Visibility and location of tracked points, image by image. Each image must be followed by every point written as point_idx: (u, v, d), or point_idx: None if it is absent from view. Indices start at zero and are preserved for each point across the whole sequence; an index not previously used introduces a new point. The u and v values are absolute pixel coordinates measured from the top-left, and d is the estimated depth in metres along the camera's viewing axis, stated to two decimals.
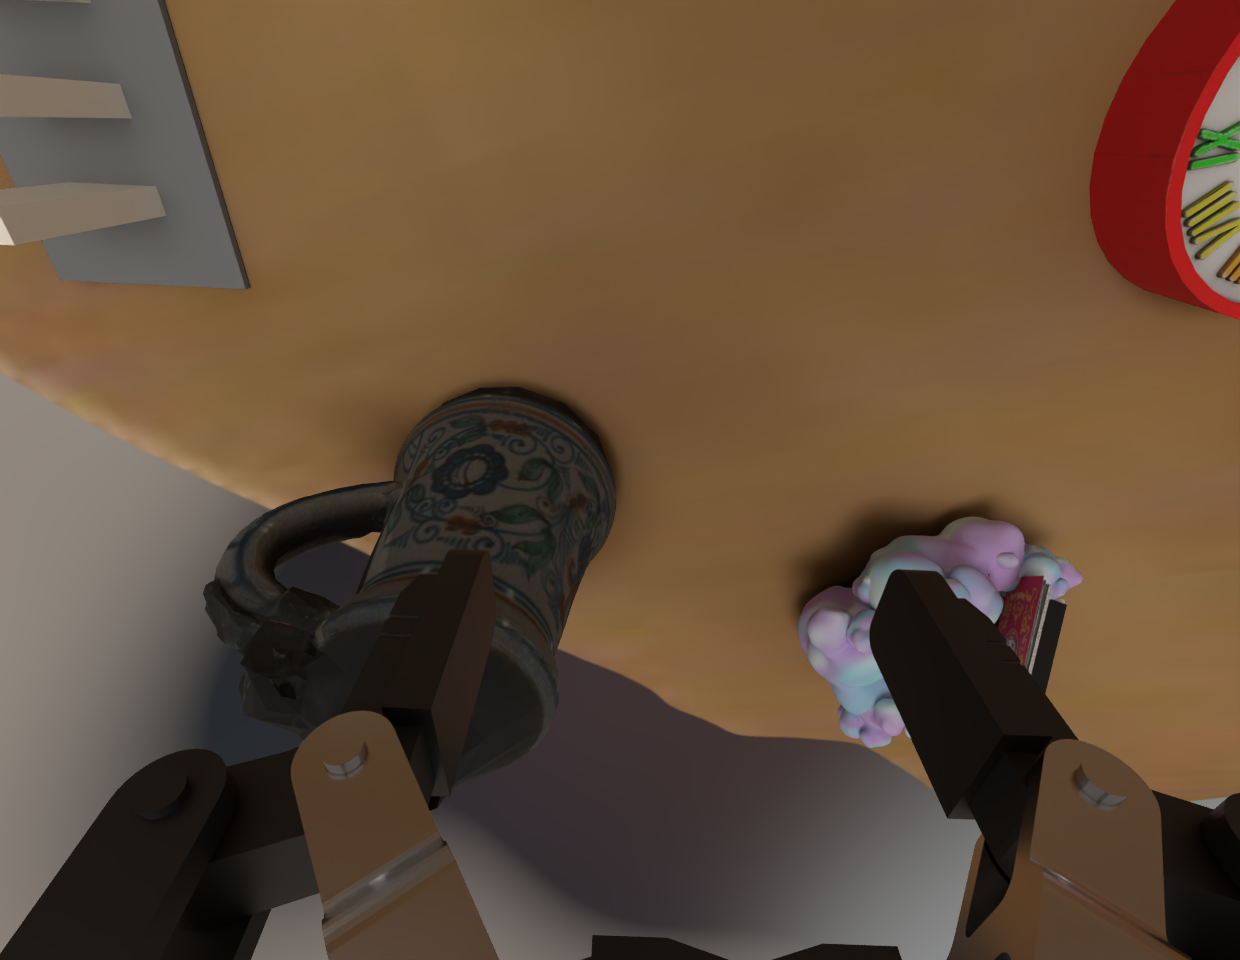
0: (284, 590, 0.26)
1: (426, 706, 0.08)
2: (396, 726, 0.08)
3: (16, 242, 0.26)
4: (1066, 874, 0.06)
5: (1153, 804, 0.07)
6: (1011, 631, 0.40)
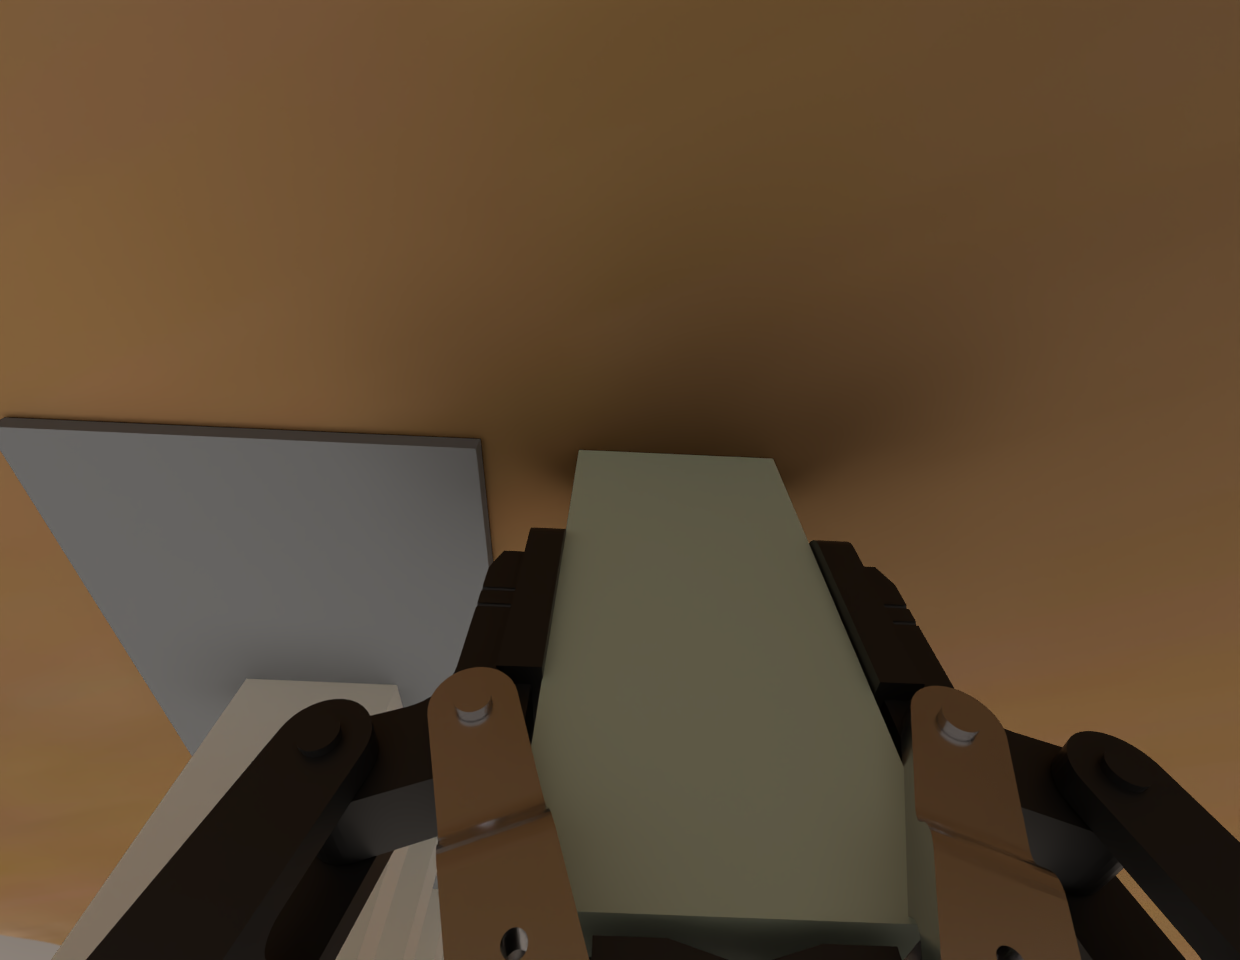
0: None
1: (536, 665, 0.08)
2: None
3: None
4: (947, 821, 0.07)
5: (1003, 740, 0.08)
6: None
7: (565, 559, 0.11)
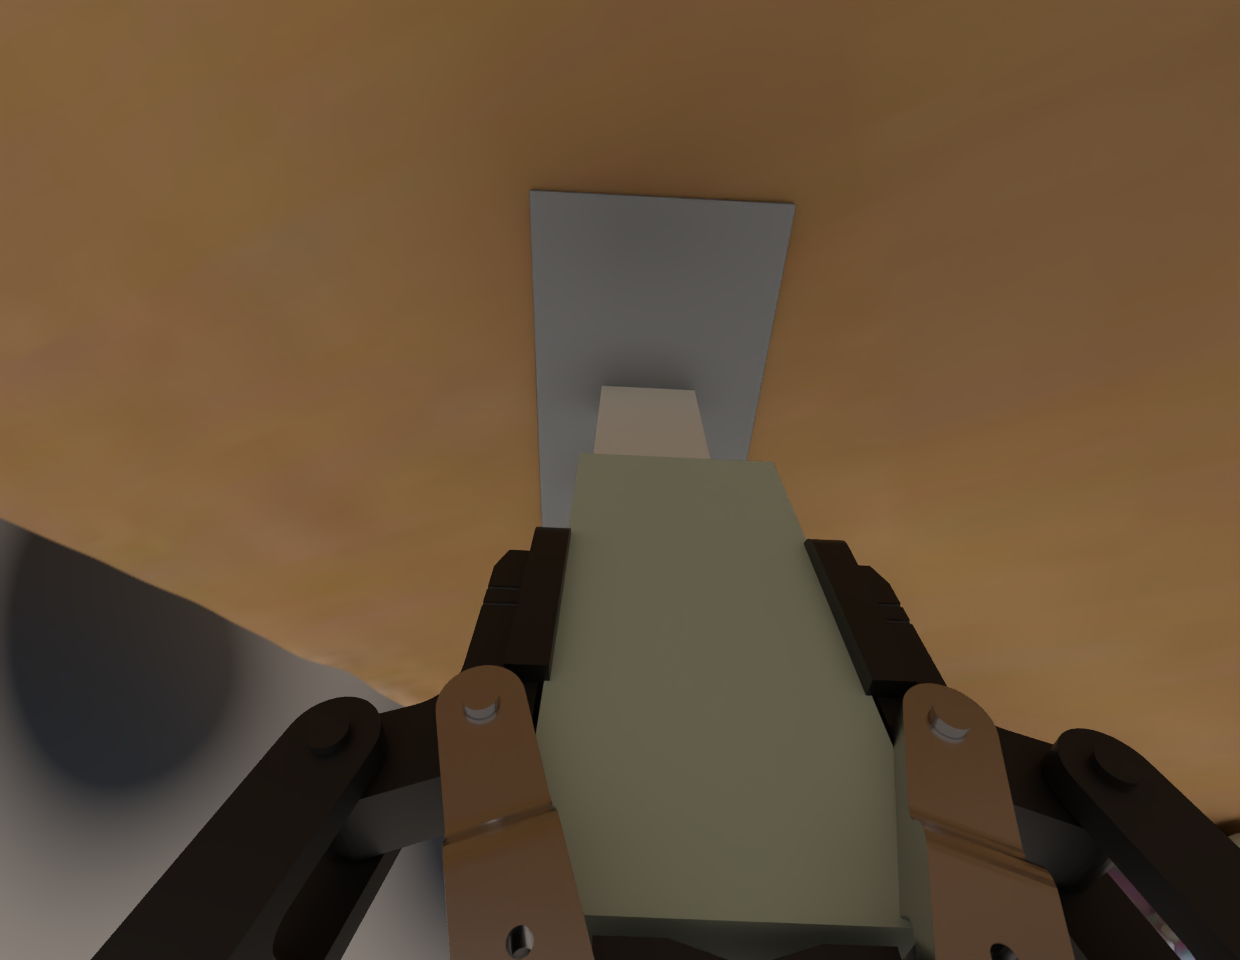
0: None
1: (543, 663, 0.08)
2: None
3: None
4: (940, 819, 0.07)
5: (994, 737, 0.08)
6: None
7: (567, 562, 0.11)
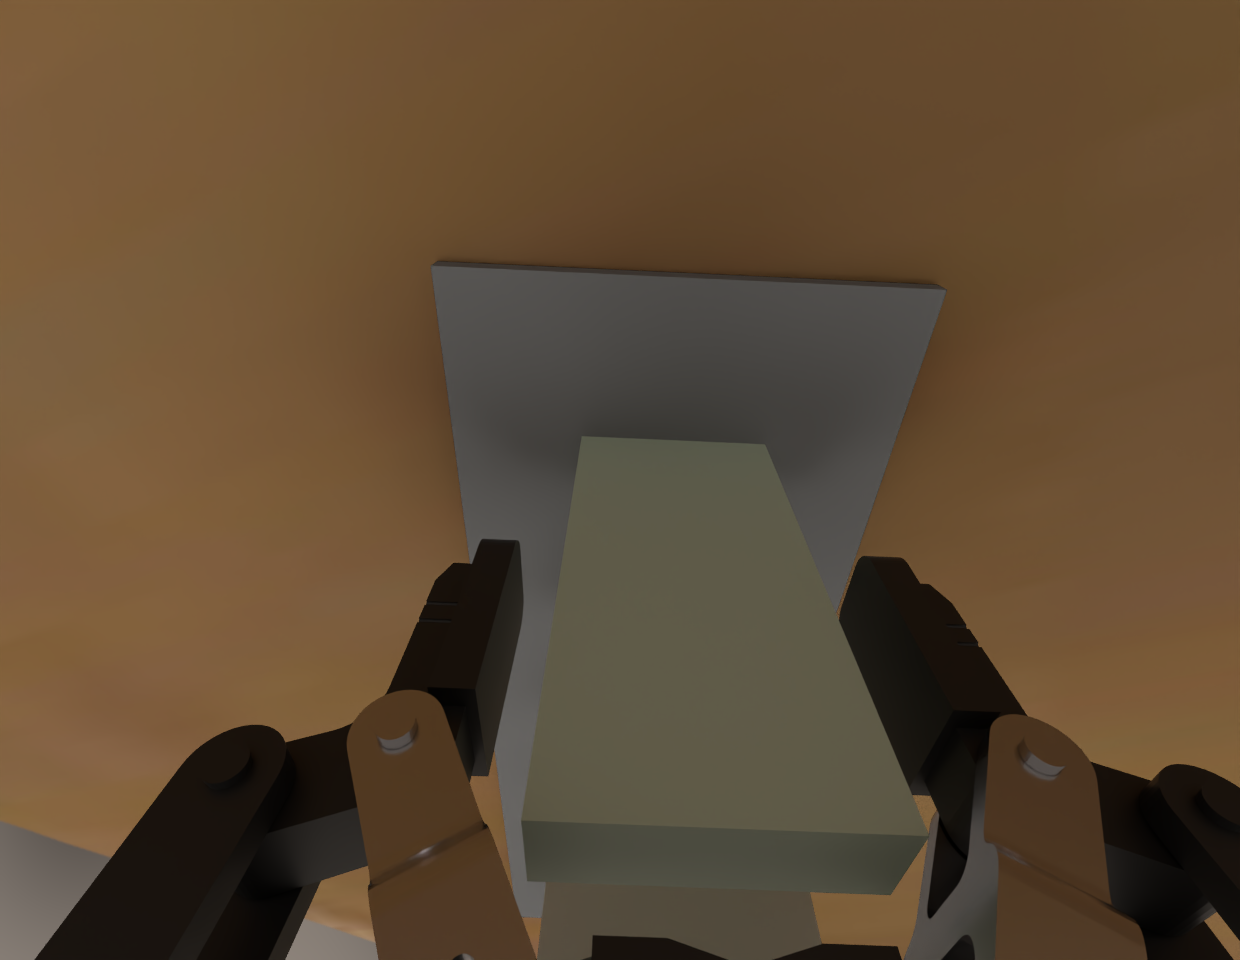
0: None
1: (470, 686, 0.08)
2: (441, 706, 0.08)
3: None
4: (1017, 849, 0.06)
5: (1091, 774, 0.07)
6: None
7: (570, 533, 0.12)
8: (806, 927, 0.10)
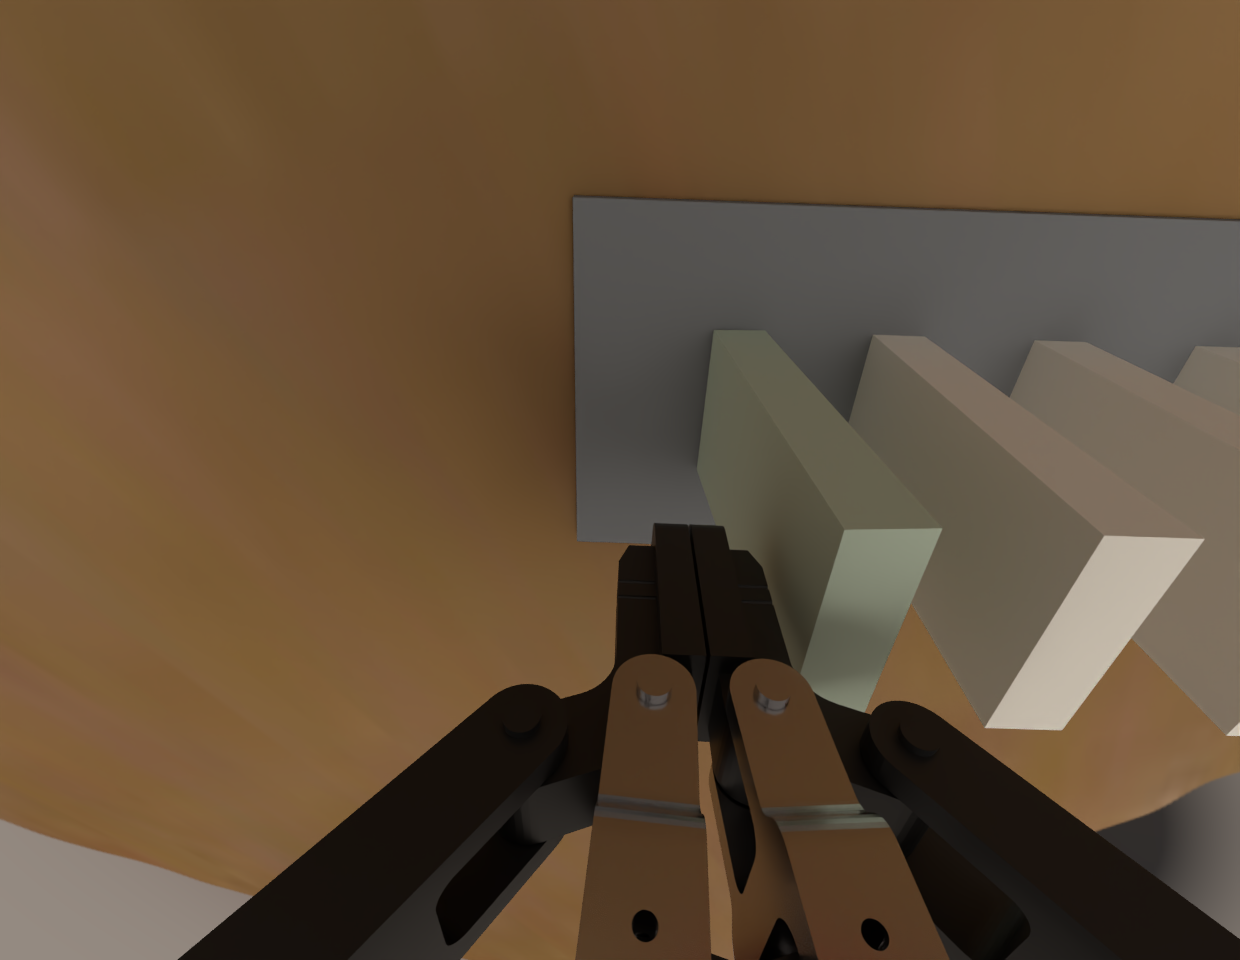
0: None
1: (699, 654, 0.09)
2: None
3: None
4: (787, 801, 0.07)
5: (812, 709, 0.08)
6: None
7: None
8: (1066, 516, 0.10)
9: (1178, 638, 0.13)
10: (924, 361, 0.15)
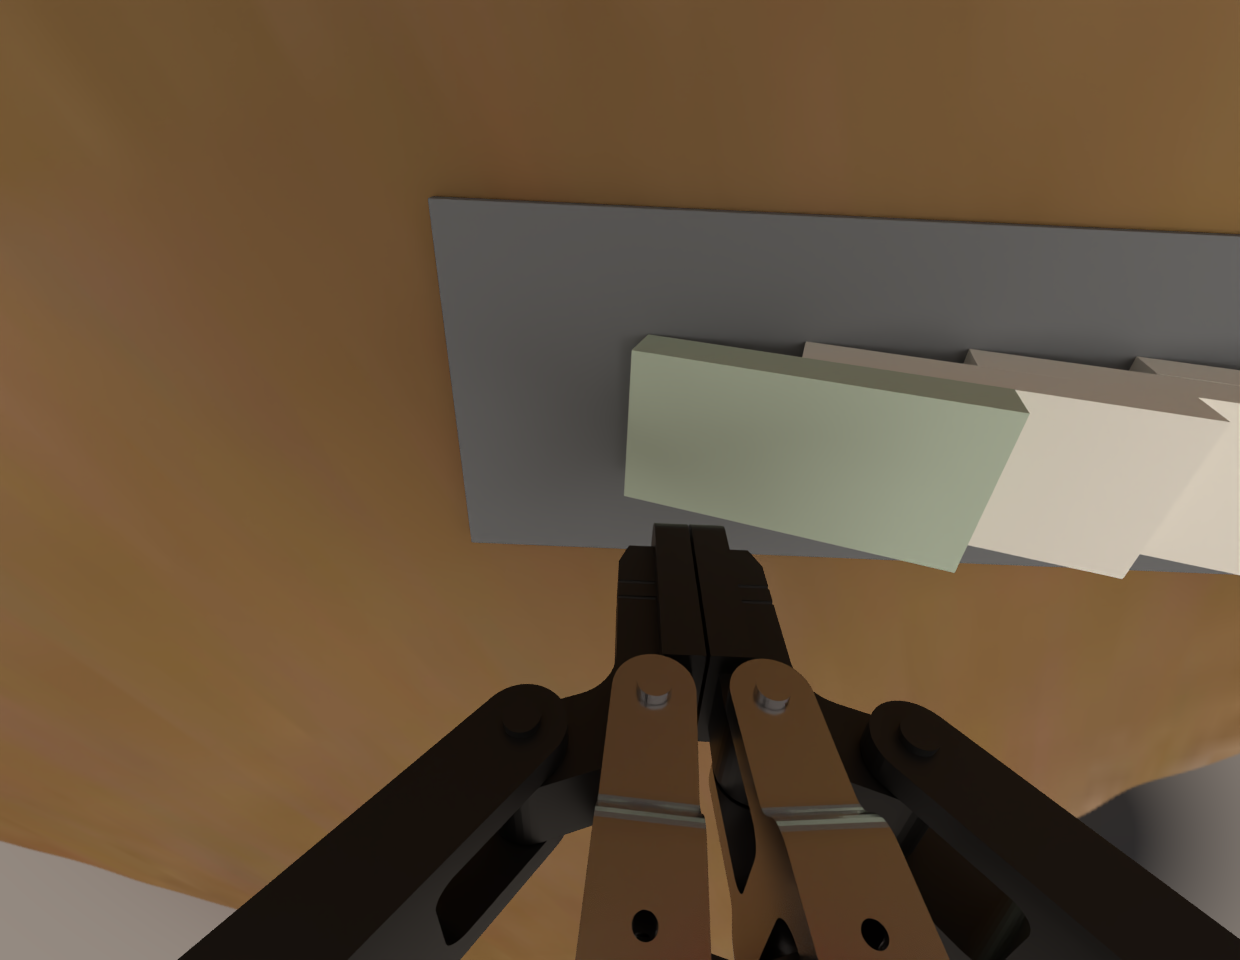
0: None
1: (699, 654, 0.09)
2: None
3: None
4: (787, 801, 0.07)
5: (812, 709, 0.08)
6: None
7: (754, 524, 0.17)
8: (1185, 423, 0.14)
9: None
10: (886, 363, 0.16)
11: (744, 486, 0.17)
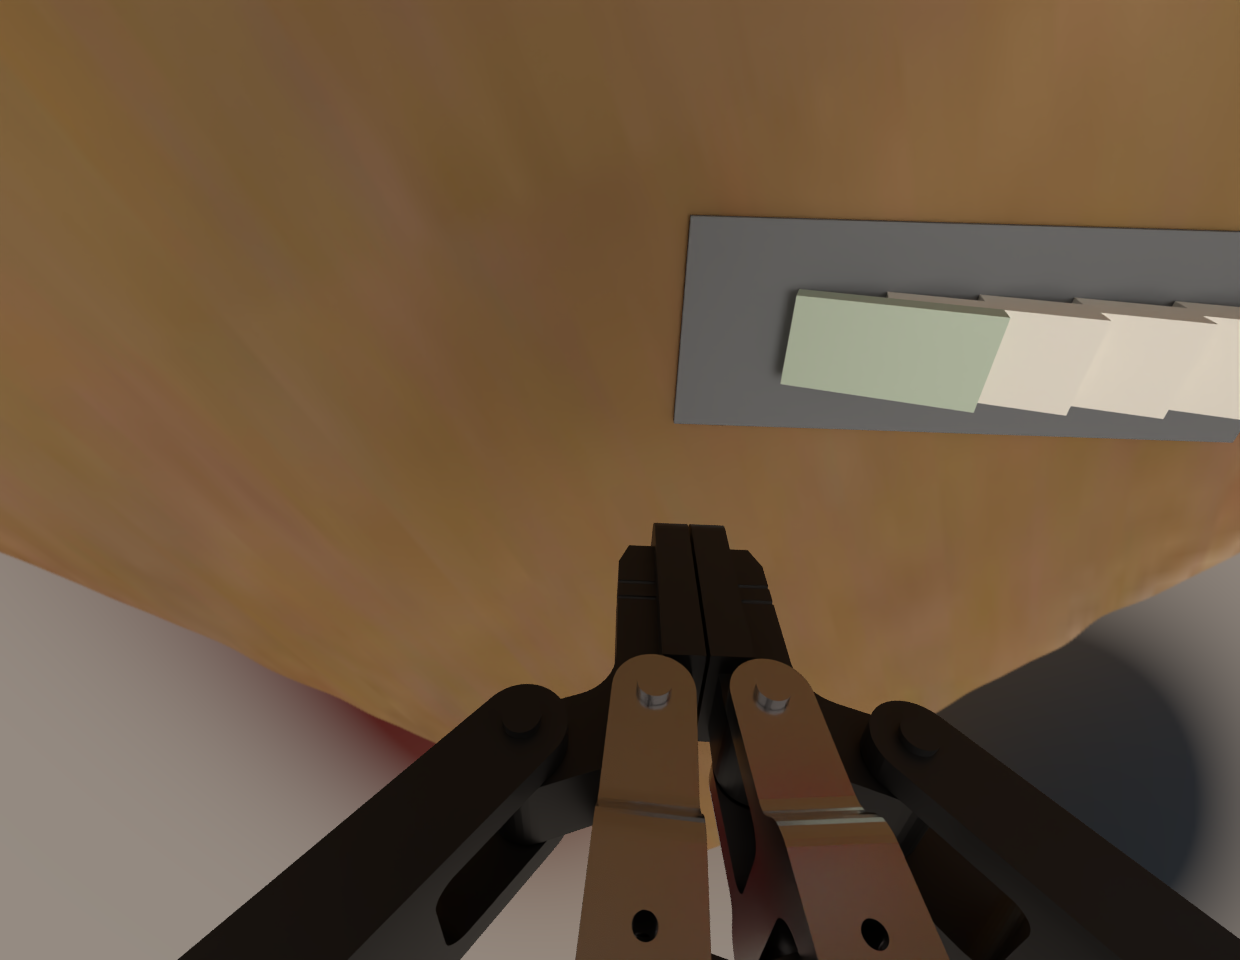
0: None
1: (700, 654, 0.09)
2: None
3: None
4: (787, 801, 0.07)
5: (812, 708, 0.08)
6: None
7: (859, 394, 0.31)
8: (1090, 323, 0.27)
9: (1131, 398, 0.30)
10: (934, 300, 0.30)
11: (855, 371, 0.31)
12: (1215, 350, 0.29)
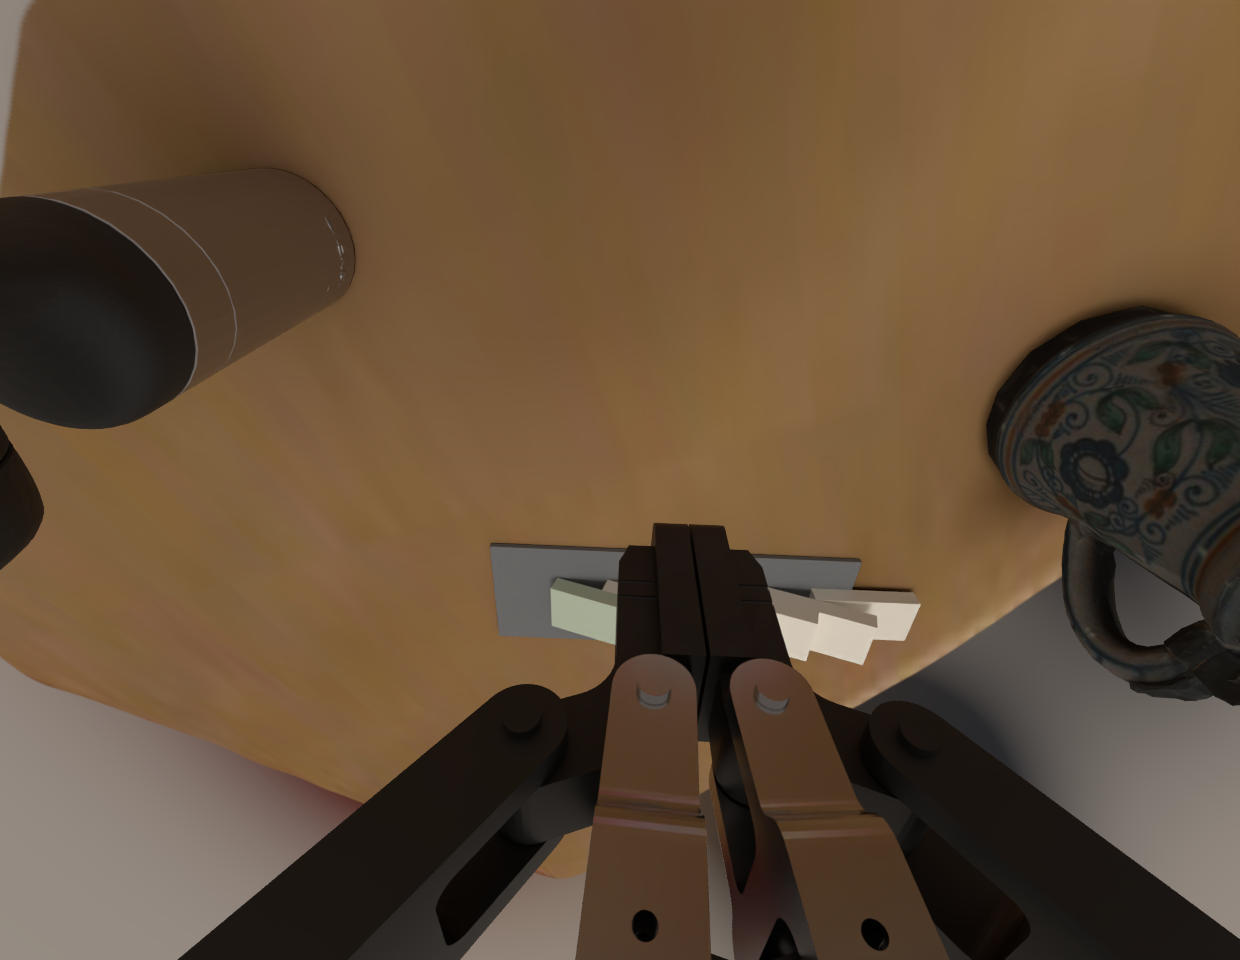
0: (1164, 648, 0.33)
1: (699, 654, 0.09)
2: None
3: (912, 593, 0.55)
4: (787, 801, 0.07)
5: (812, 709, 0.08)
6: None
7: (592, 637, 0.55)
8: None
9: None
10: None
11: (587, 626, 0.54)
12: None
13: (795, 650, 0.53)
